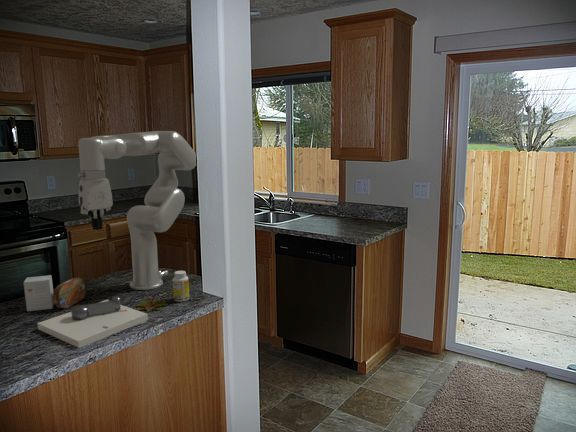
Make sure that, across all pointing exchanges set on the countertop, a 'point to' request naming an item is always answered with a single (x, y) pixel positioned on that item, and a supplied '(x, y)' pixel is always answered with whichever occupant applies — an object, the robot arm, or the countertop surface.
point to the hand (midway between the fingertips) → (97, 228)
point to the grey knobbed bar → (95, 308)
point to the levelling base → (91, 325)
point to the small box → (39, 293)
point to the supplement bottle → (180, 286)
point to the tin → (69, 292)
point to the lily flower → (151, 302)
